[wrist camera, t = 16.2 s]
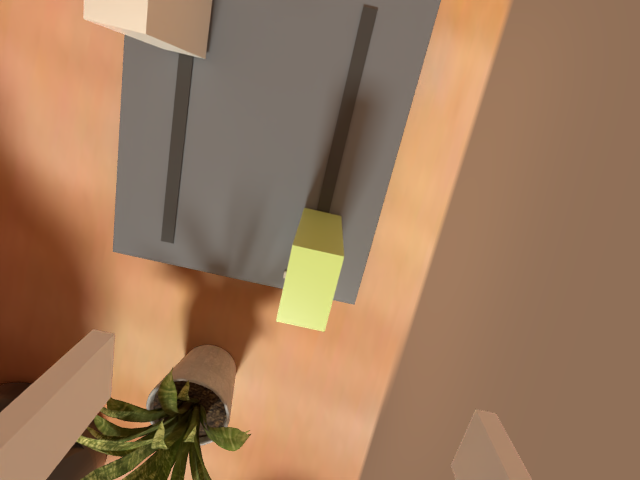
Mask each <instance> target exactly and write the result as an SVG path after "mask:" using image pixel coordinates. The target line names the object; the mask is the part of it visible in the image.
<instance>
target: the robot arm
mask: <svg viewBox="0 0 640 480" xmlns="http://www.w3.org/2000/svg"><path fill="white" fill-rule="evenodd" d="M114 340H115V334H114V333H109V332H104V331H99V330H94V329H93V330H92V331H90V332H89V333H88V334H87V335H86V336H85V337H84V338H83V339H82V340H80V341H79V342H78V343H77V344H76V345H75V346H74V347H73V348H72V349H70V350H69V351H68V352H67V353H66V354H65V355H64V356H63V357H61V358H60V359H59V360H58V361H57V362H56V363H55V364H54V365H53V366H51V367H50V368H49V369H48V370H47V371H46V372H45V373H44V374H43V375H41V376H40V377H39V378H38V379H37V380H36V381H35V382H34V383H33V384H31V383H6V384H1V385H0V480H80V479H82V478H84V477H85V476H87V475H88V474H89V473H91V472H92V471H94V470H95V469H97V468H99V467H102V466H104V464H105V460H106V454H105V453H102V452H98V451H96V450H93V449H91V448H89V447H87V446H85V445H83V444H80V443H78V442H76V441H77V440H78V438H79V437H80V436H81V435H82V436H84V437H86V438H91V439H96V440H99V439H97V438H96V437H94V436H93V435H92V434H91V433H90V432H89V431H88V430H87V427H90V428H92V429H94V430H95V431H97V432H99V433H100V434H102V433H101V432H100V431H99V430H98V429H97V427H96V425H95V423H94V418H95V417H96V415H97V414H98V413H99V411H100V410H101V409H102V408H103V406H104V405H105V404H106V403H107V401H108V400H109V399H110V397H111V389H112V373H113V356H114ZM451 467H452V470H453V473H454V476H455V479H456V480H532V479H531V477H530V475H529V473H528V471H527V470H526V468H525V466H524V464H523V462H522V460H521V459H520V457H519V455H518V453H517V451H516V449H515V448H514V446H513V444H512V442H511V440H510V439H509V437H508V435H507V433H506V431H505V429H504V427H503V425H502V424H501V422H500V420H499V418H498V417H497V414H496V413H492V412H487V411H482V410H478V409H476V410H475V412H474V414H473V416H472V418H471V421H470V423H469V426H468V428H467V430H466V432H465V435H464V437H463V439H462V441H461V444H460V446H459V448H458V450H457V453H456V455H455V457H454V460H453V462H452V464H451Z"/></svg>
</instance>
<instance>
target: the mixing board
mask: <svg viewBox="0 0 640 480" xmlns="http://www.w3.org/2000/svg"><path fill="white" fill-rule="evenodd" d="M440 2H441V0H212V7H211V16H210V24H209V33H208V41H207V50H206V58H205V59H203V58H199V57H194V56H190V55H186V54H182V53H178V52H174V51H169V50H165V49H162V48H159V47H157V46H154V45H151V44H149V43H146V42H143V41H141V40H138V39H135V38H133V37H130V36H127V35H125V38H124V56H123V75H122V93H121V111H120V129H119V148H118V166H117V184H116V203H115V221H114V239H113V252H117V253H121V254H126V255H130V256H135V257H139V258H144V259H149V260H153V261H158V262H162V263H167V264H171V265H176V266H180V267H185V268H190V269H194V270H199V271H203V272H208V273H212V274H217V275H222V276H226V277H231V278H235V279H240V280H244V281H249V282H253V283H258V284H263V285H267V286H272V287H276V288H281V289H283V286H284V282H285V277H286V272H287V268H288V263H289V258H290V254H291V249H292V245H293V241H294V238H295V235H296V232H297V229H298V226H299V223H300V219H301V216H302V213H303V210H304V208H308V209H312V210H317V211H321V212H325V213H330V214H334V215H339V216H341V217H342V231H343V246H344V260H343V263H342V267H341V271H340V275H339V279H338V282H337V286H336V290H335V294H334V298H333V300H336V301H340V302H345V303H349V304H355V301H356V297H357V294H358V290H359V287H360V283H361V280H362V276H363V273H364V269H365V266H366V262H367V259H368V255H369V252H370V248H371V245H372V241H373V237H374V234H375V230H376V227H377V223H378V220H379V216H380V213H381V209H382V206H383V202H384V199H385V195H386V192H387V188H388V185H389V181H390V178H391V174H392V171H393V167H394V164H395V160H396V157H397V153H398V149H399V146H400V142H401V139H402V135H403V132H404V128H405V125H406V121H407V118H408V114H409V111H410V107H411V104H412V100H413V97H414V93H415V90H416V86H417V83H418V79H419V76H420V72H421V69H422V65H423V61H424V58H425V54H426V51H427V47H428V44H429V40H430V37H431V33H432V30H433V26H434V23H435V19H436V16H437V12H438V9H439V5H440Z"/></svg>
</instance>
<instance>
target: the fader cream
mask: <svg viewBox="0 0 640 480" xmlns="http://www.w3.org/2000/svg"><path fill="white" fill-rule="evenodd" d="M211 7H212V0H84V19H85V20H87V21H90V22H93V23H95V24H98V25H101V26H103V27H106V28H109V29H111V30H114V31H117V32H119V33H122V34H125V35H127V36H130V37H133V38H135V39H138V40H141V41H143V42H146V43H149V44H151V45H154V46H157V47H159V48H162V49H165V50H169V51H174V52H178V53H182V54H186V55H190V56H194V57H199V58H203V59H205V58H206V50H207V41H208V33H209V24H210V16H211Z"/></svg>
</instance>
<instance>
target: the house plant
mask: <svg viewBox="0 0 640 480" xmlns="http://www.w3.org/2000/svg"><path fill="white" fill-rule="evenodd" d="M235 375H236V365H235V361H234V360H233V358H232V356H231V355H230V354H229V353H228V352H227V351H225V350H224V349H222V348H220V347H217V346H214V345H201V346H198V347H196V348H194V349H192V350H191V351H190V352H189V353H188V354H187V355H186V356H185V357H184V358H183V359H182V360H181V361H180V362H179V363H178V364H177V365H176V366H175V367H174V368H172V370H171V371H170V372H169V373H168V374H167V375H166V376H165V378H164V379H163V380H162V381H161V382H160V383H159V384H158V385H157V386H156V387H155V388H154V389H153V390H152V392H151V393H150V395H149V397H148V400H147V404H146V406H147V409H143V408H140V407H137V406H135V405H132V404H129V403H126V402H123V401H119V400H115V399H113V398H111V397H110V399H109V400H108V401H107V409H106V408H105V407H103V408H102V409H101V410H100V412H102V413H103V414H105V415H107V416H110V417H113V418H117V419H120V420H123V421H130V422H150V423H151V424H152V425H150V426H148V427H143V428H134V429H130V428H122V427H119V426H117V425H115V424H113V423H111V422H109V421H107V420H105V419H104V418H102V417H100V416H98V415H96V417H95V418H94V423H95V425H96V427H97V429H98V430H99V431H100V432H101V433H102V434H100V433H99V432H97V431H95V430H94V429H92V428H90V427H87V430H88V431H89V432H90V433H91V434H92V435H93V436H94V437H96V438H97V439H99V440H96V439H91V438H86V437H84V436H82V435H81V436H80V437H79V438H78V440H77V441H76V442H78V443H80V444H83V445H85V446H87V447H89V448H91V449H93V450H96V451H98V452H102V453H105V454H108V455H113V456H121V457H122V458H120V459H118V460H116V461H113V462H111V463H109V464H107V465H104V466H102V467H99V468H97V469H95V470H94V471H92V472H91V473H89V474H88V475H87V476H85V477H84V478H82V479H80V480H113V479H116V478H118V477H120V476H122V475H124V474H126V473H127V472H129V471H131V470H133V469H134V468H135V467H136V466H137V465H138V464H139V463H140V462H142V461H143V460H144V459H145V458H147V457H148V456H149V455H151V454H152V453H154V452H155V451H156V452H155V453H154V454H153V455H152V456H151V457H150V458H149V459H148V460H147V461H145V462H144V463H143V464H142V465H141V466H139V467H138V468H137V469H135V470H134V471H133V472H131V473H130V474H129V475H127V476H126V477H125V478H124V479H122V480H167V478H168V476H169V474H170V471H171V468H172V467H173V465H174V463H175V465H174V468H173V471H172V476H171V480H184V475H185V469H186V462H187V457H188V453H189V459H190V467H191V474H192V478H193V480H211V478H210V476H209V474H208V472H207V470H206V468H205V465H204V462H203V459H202V454H201V448H200V445H205V444H208V443H211V442H215V443H216V444H217V445H218V446H220V447H222V448H224V449H226V450H229V451H236V450H238V449H239V448H240V447H241V446H242V445H243V444H244V443H245V441H246V440H247V439H248V437H249V436H250V435H251V434H248V435H247V434H246V433H247V432H249V431H250V430H249V431H247V432H242V431H240V430H239V429H237V428H232V427H228V424H229V421H230V413H231V406H232V398H233V390H234V383H235ZM145 435H146V436H145ZM141 436H144V437H142V438H140V439H139V440H137V441H135V442H126V441H129V440H132V439H135V438H137V437H141ZM175 461H176V462H175Z"/></svg>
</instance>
